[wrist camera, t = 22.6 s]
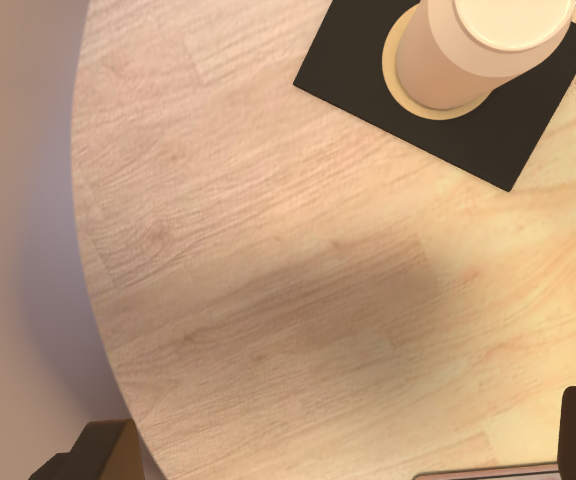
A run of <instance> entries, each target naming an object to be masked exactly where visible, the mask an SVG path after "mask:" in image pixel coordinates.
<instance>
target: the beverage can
mask: <svg viewBox="0 0 576 480" xmlns="http://www.w3.org/2000/svg"><path fill="white" fill-rule="evenodd" d="M575 7H576V0H421V1H420V3H419V5H418V7H417V9H416V10H415V12H414V14H413V16H412V18H411V20H410V22H409V23H408V25H407V27H406V29H405V31H404V33H403V35H402V37H401V40H400V42H399V45H398V49H397V55H396V67H397V73H398V76H399V79H400V82H401V84H402V86H403V87H404V89H405V90H406V91H407V93H408V94H409V95H410V96H411V97H412V98H413V99H415V100H416V101H418V102H419V103H421V104H423V105H425V106H428V107H431V108H436V109H450V108H456V107H459V106H462V105H465V104H467V103H469V102H471V101H473V100H475V99H477V98H479V97H481V96H482V95H484V94H486V93H488V92H490V91H492V90H493V89H495V88H497V87H499V86H501V85H503V84H504V83H506V82H508V81H510V80H512V79H514V78H515V77H517V76H519V75H521V74H523V73H524V72H526V71H528V70H530V69H532V68H533V67H535V66H537V65H538V64H540V63H541V62H542V61H544V60H545V59H546V58H547V57H548V56H549V55H550V54H551V53H552V52H553V51H554V50H555V49H556V48H557V47H558V45H559V44H560V42H561V41H562V39H563V38H564V36H565V34H566V32H567V30H568V28H569V26H570V23H571V20H572V16H573V12H574V10H575Z"/></svg>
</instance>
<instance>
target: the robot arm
mask: <svg viewBox="0 0 576 480" xmlns="http://www.w3.org/2000/svg"><path fill="white" fill-rule="evenodd" d="M557 462H558V469H559V473H560V477H561V480H576V386H569V387H568V388H566V389H565V391H564V393H563V397H562V406H561V418H560V430H559V442H558V455H557ZM28 480H145V477H144V471H143V465H142V459H141V452H140V447H139V440H138V434H137V428H136V425H135V422H134V421H133V419H118V420H105V421H92V422H89V423H88V424H87V425H86V426H85V428H84V429H83V431H82V433H81V434H80V436H79V438H78V439H77V441H76V443H75V444H74V446H73V447H72V449H71V451H70V452H68V453H57V454H56V455H55V456H54V457H52V458H51V459H50V460H49V461H47V462H46V463H45V464H44V465H43V466H42V467H40V468H39V469H38V470H37V471H36V472H35V473H33V474H32V475H31V476H30V478H29V479H28Z"/></svg>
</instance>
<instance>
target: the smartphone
mask: <svg viewBox="0 0 576 480" xmlns="http://www.w3.org/2000/svg"><path fill="white" fill-rule="evenodd" d="M415 480H561V477H560V473H559V469H558V464H552V465H540V466H529V467H517V468H506V469H495V470H483V471H472V472H461V473H449V474H438V475H426V476H420V477H417V478H416V479H415Z"/></svg>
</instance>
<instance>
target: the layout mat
mask: <svg viewBox="0 0 576 480" xmlns="http://www.w3.org/2000/svg"><path fill="white" fill-rule="evenodd" d="M420 1H421V0H333V1H332V3H331V5H330V7H329V9H328V11H327V13H326V15H325V17H324V20H323V22H322V24H321V26H320V28H319V30H318V32H317V34H316V36H315V38H314V40H313V43H312V45H311V47H310V49H309V51H308V53H307V55H306V57H305V59H304V61H303V63H302V66H301V68H300V70H299V72H298V74H297V76H296V78H295V80H294V82H293V85H294V86H296V87H298V88H300V89H302V90H304V91H306V92H308V93H310V94H312V95H314V96H316V97H318V98H320V99H322V100H324V101H326V102H328V103H330V104H332V105H334V106H336V107H338V108H340V109H342V110H345V111H347V112H349V113H351V114H353V115H355V116H357V117H359V118H361V119H363V120H365V121H367V122H369V123H371V124H373V125H375V126H377V127H379V128H381V129H383V130H385V131H387V132H389V133H391V134H393V135H395V136H397V137H399V138H401V139H403V140H405V141H407V142H409V143H411V144H413V145H415V146H417V147H419V148H421V149H423V150H425V151H427V152H429V153H431V154H433V155H435V156H437V157H439V158H441V159H443V160H445V161H447V162H449V163H451V164H453V165H455V166H457V167H459V168H461V169H463V170H465V171H467V172H469V173H471V174H473V175H475V176H477V177H479V178H481V179H483V180H485V181H487V182H489V183H491V184H493V185H495V186H497V187H499V188H501V189H503V190H505V191H507V192H510V191H511V189H512V187H513V185H514V184H515V182H516V180H517V178H518V177H519V175H520V173H521V171H522V169H523V168H524V166H525V164H526V162H527V160H528V159H529V157H530V155H531V153H532V152H533V150H534V148H535V146H536V144H537V143H538V141H539V139H540V137H541V136H542V134H543V132H544V130H545V128H546V127H547V125H548V123H549V121H550V119H551V118H552V116H553V114H554V112H555V111H556V109H557V107H558V105H559V103H560V102H561V100H562V98H563V96H564V94H565V93H566V91H567V89H568V87H569V86H570V84H571V82H572V80H573V78H574V77H575V75H576V23H574V22H572V21H571V23H570V26H569V28H568V30H567V32H566V34H565V36H564V38H563V39H562V41H561V42H560V44H559V45H558V47H557V48H556V49H555V50H554V51H553V52H552V53H551V54H550V55H549V56H548V57H547V58H546V59H545V60H544V61H542V62H541V63H540V64H538V65H537V66H535V67H533V68H532V69H530V70H528V71H526V72H524V73H523V74H521V75H519V76H517V77H515V78H514V79H512V80H510V81H508V82H506V83H504V84H503V85H501V86H499V87H497V88H495V89H493V90H492V91H490V92H488V93H486V94H484V95H482V96H481V97H479V98H477V99H475V100H473V101H471V102H469V103H467V104H465V105H462V106H459V107H456V108H450V109H436V108H431V107H428V106H425V105H423V104H421V103H419V102H418V101H416V100H415V99H413V98H412V97H411V96H410V95H409V94H408V93H407V91H406V90H405V89H404V87H403V86H402V84H401V82H400V79H399V76H398V73H397V67H396V55H397V49H398V45H399V42H400V40H401V37H402V35H403V33H404V31H405V29H406V27H407V25H408V23H409V22H410V20H411V18H412V16H413V14H414V12H415V10H416V9H417V7H418V5H419V3H420Z"/></svg>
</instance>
